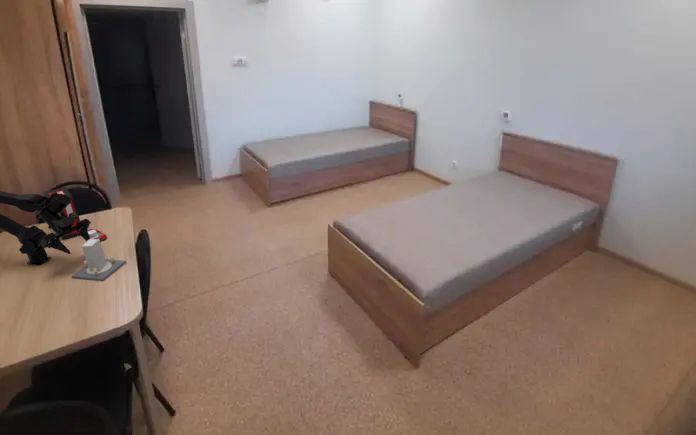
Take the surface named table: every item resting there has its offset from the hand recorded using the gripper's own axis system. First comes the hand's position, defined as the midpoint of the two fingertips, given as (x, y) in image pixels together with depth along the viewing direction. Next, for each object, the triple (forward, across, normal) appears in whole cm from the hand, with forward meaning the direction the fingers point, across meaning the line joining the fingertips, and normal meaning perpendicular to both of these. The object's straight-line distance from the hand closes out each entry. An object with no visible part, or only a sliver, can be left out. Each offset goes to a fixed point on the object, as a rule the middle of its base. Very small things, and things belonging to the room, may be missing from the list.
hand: (80, 248), depth 164 cm
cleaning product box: (-20, +20, +33) cm, 44 cm away
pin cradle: (+12, 0, +1) cm, 12 cm away
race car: (-8, +20, +21) cm, 30 cm away
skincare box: (+11, 0, 0) cm, 11 cm away
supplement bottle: (-1, +13, +14) cm, 19 cm away
